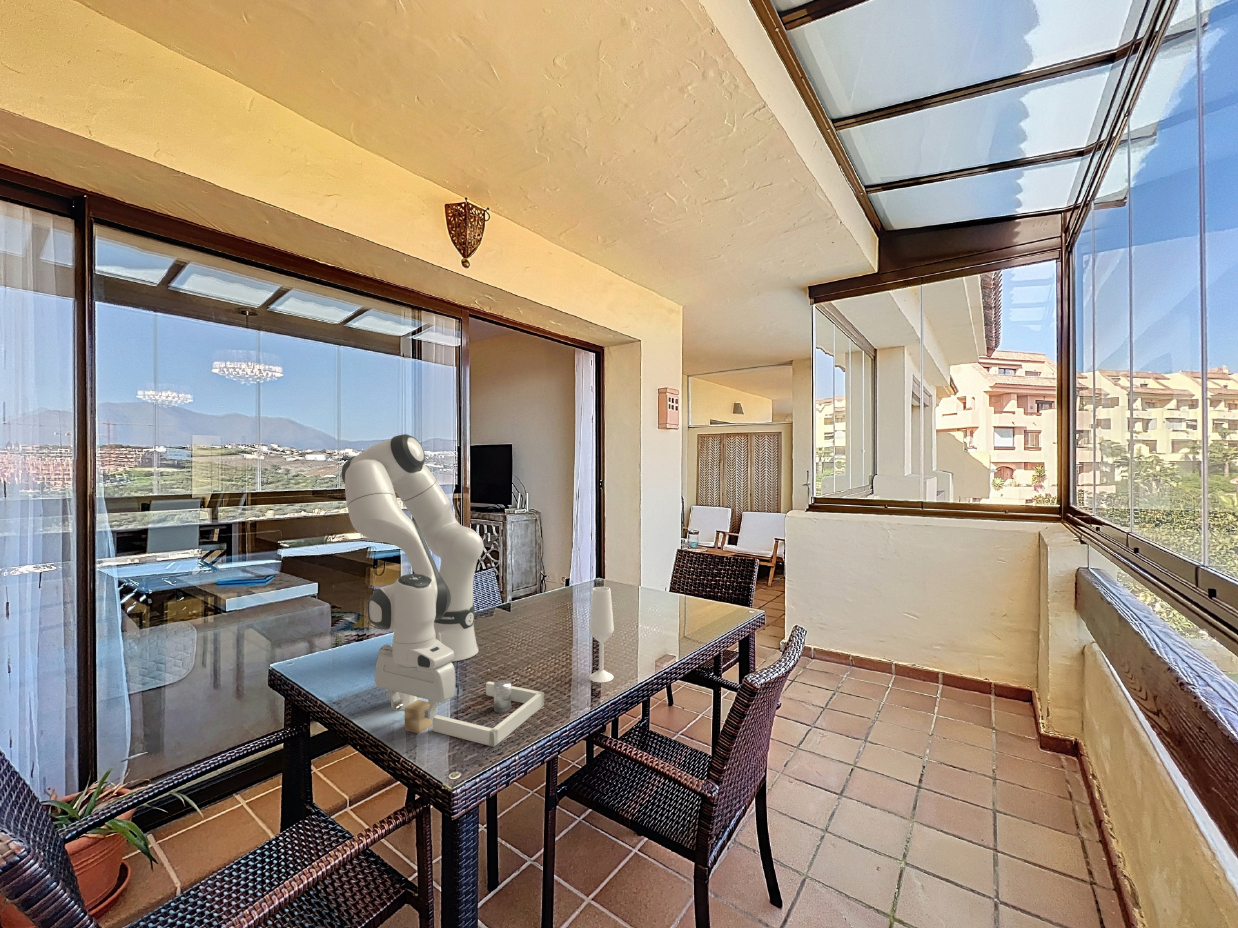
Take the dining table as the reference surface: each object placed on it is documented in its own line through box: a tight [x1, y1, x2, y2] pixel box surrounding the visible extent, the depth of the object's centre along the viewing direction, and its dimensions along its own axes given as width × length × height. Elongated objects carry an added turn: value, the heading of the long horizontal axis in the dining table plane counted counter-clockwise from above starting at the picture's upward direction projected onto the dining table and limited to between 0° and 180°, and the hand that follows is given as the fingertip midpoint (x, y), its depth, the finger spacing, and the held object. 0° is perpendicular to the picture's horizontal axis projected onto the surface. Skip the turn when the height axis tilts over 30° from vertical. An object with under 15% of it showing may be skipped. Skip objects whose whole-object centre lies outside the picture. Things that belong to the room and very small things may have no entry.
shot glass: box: [390, 692, 418, 711], centre depth 128 cm, size 7×7×7 cm
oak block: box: [404, 699, 433, 735], centre depth 117 cm, size 4×4×5 cm
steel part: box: [493, 679, 512, 714], centre depth 126 cm, size 4×4×6 cm
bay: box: [432, 681, 545, 747], centre depth 122 cm, size 16×20×3 cm
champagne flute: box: [588, 586, 615, 683], centre depth 144 cm, size 7×7×24 cm
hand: (413, 713), depth 117 cm, fingers open, 8 cm apart
